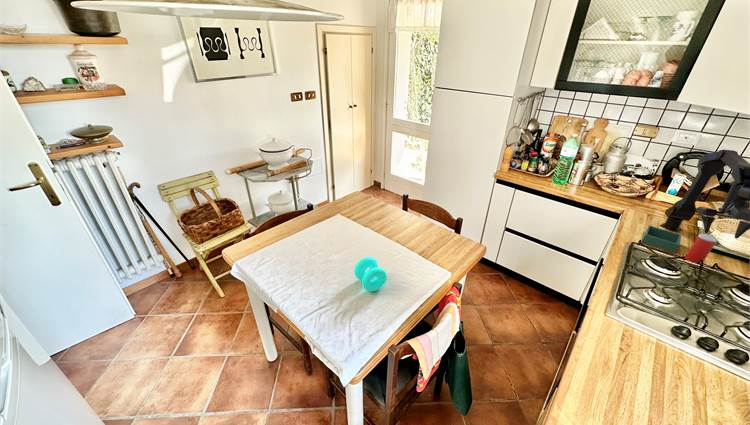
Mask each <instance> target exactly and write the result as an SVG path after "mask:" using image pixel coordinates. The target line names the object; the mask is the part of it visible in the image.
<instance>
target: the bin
mask: <svg viewBox="0 0 750 425" xmlns="http://www.w3.org/2000/svg"><path fill="white" fill-rule="evenodd" d="M681 239H682V234H680V233H676V232H674V231H671V230H668V229H663V228H660V227H656V226H653V225H648V226H647V228H646V230H645V232H644V233H643V237H642V239H641V243H642V244H645V245H648V246H651V247H654V248H658V249H660V250H663V251H667V252H669V253H673V254H676V252H677V250H678V249H679V247H680V245H681Z"/></svg>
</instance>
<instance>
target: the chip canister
mask: <svg viewBox="0 0 750 425" xmlns="http://www.w3.org/2000/svg"><path fill="white" fill-rule="evenodd" d="M718 241H719V239H718V238H717V237H715V236H714V235H712V234H708V233H699V234H698V235H697V237H696V239H695V241H694V242H693V244H692V246H691V247H690V249H689V250H688V251H687V253H686V255H685V256H684V258H683V260H684V259H687V260H689V261H691V262H695V263H698V262H699V261H700V260H701V259H702V260H703V262H704V261H705V260H706V258H707V257H708V256H709V254H710V252H711V251H712V249H713V248H714V247H715V245H716V244H717V243H718Z"/></svg>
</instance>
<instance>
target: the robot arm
mask: <svg viewBox="0 0 750 425" xmlns="http://www.w3.org/2000/svg"><path fill="white" fill-rule="evenodd" d="M724 167H728V168H729V169H730V170H731V173H730V176H731V177H732V179H733V181H731V182H729V186H730V188H729V191H728V193H727V195H726V197H725V198H723V199H722V202H723V204H722V207H721V208H720V207H719V208H718V210H717V209H715V208H711V207H707V206H706V207H705V206H701V205H700V206H698V207H697V205H696V203H697V201H698V199H699V198H700V196H701V195H702V193H703V191H704V190H705V189H706V186H707V185H708V183H709V181H711V179H712V177H713V176H715V175H717V174H718V173H721V171H722V170H723V169H724ZM696 168H697V173H696V175H695V176H694V178H693V180H692V182H691V183H690V185H689V186H688V189H687V190H686V192H685V193H684V195H683V197H682V198H681V199H679V200H677V201H675V202H674V204H673V205H672V206H670V207H668V208H667V209H665V210H664V215H665V216H666V217H667V218H666V220H665V221H664V223H662V224H660V225H659V226H660V227H662V228H664V229H666V230H668V231H671V232H678V231H680V230H682V228H681V225H682V223H683V221H687V222H689V221H690V220H692V219H693V217H694V216H695V215H696V214H698V216H700V217H701V221H702V224H703V230H704V234H708V233H709V231H710V229H711V226H712V224H713V222H714V221H715V220H716V217H715V216H718V217H723V218H728V219H729V218H730V219H734V220H738V221H739V222H738V225H737V227H736V230H735V233H734V239H736V240H737V239H739V238H740V237H741V236H743V235H744V234H745V233H746V232H747V231H748V230H750V163H749V162H748V160H746V159H745V158H743V157H742V156H741V155H740V154H739V153H738V151H736V150H732V149H723V148H722V149H720V150H717V151H714V152H708V153H706V154H703V155H702V156H700V157H699V159H698V161H697V164H696Z"/></svg>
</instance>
